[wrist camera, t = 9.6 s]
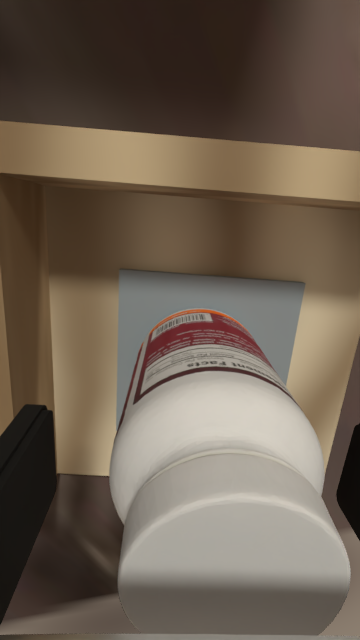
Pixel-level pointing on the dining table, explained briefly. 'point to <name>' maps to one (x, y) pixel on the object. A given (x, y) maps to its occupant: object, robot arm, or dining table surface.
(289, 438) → the pill bottle
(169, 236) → the wooden corner stand
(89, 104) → the dining table surface
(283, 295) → the slate pad
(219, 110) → the dining table surface
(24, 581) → the dining table surface
